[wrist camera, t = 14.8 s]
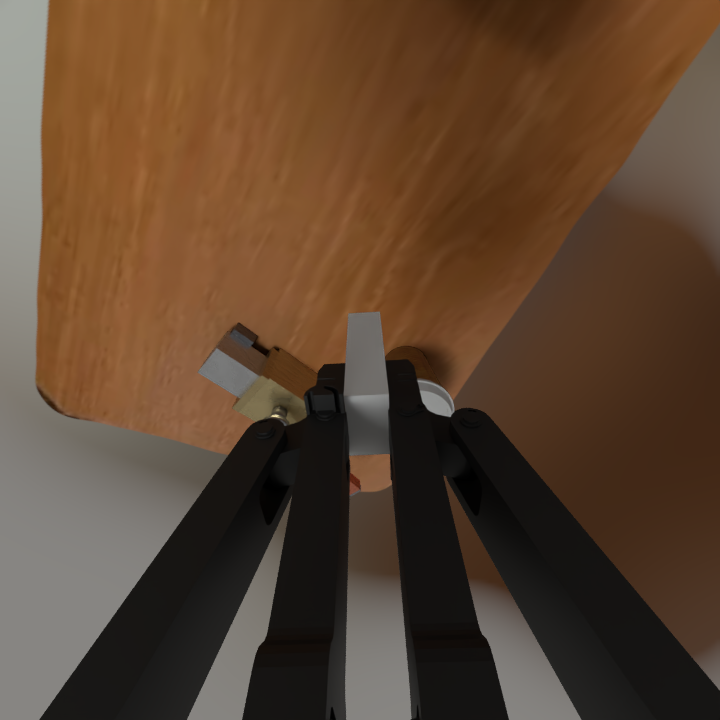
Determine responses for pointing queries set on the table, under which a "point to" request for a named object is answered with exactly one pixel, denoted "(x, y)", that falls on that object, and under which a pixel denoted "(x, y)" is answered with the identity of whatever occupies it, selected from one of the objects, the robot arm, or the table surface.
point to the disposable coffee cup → (425, 381)
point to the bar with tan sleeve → (259, 377)
